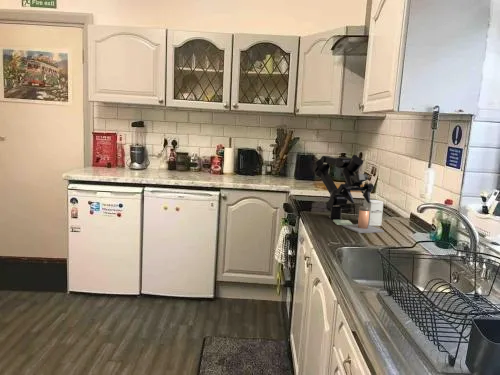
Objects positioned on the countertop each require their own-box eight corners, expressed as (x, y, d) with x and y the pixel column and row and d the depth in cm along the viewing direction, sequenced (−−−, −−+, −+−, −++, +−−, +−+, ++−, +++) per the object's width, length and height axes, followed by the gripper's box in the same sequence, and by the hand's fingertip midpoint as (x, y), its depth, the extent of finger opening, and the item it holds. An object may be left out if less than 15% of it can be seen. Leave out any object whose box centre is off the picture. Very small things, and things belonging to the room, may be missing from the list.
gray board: (342, 226, 218) (342, 224, 218) (366, 225, 223) (366, 224, 223) (358, 233, 205) (358, 231, 205) (383, 232, 210) (383, 230, 210)
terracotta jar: (355, 226, 215) (357, 206, 214) (362, 226, 217) (364, 206, 216) (362, 228, 211) (364, 208, 209) (370, 228, 213) (371, 207, 212)
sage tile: (333, 221, 229) (333, 219, 229) (348, 222, 230) (348, 220, 230) (336, 224, 222) (336, 222, 221) (352, 225, 222) (352, 223, 222)
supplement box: (368, 226, 222) (370, 201, 220) (361, 223, 229) (363, 199, 227) (381, 226, 224) (383, 201, 222) (373, 222, 231) (376, 199, 229)
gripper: (341, 167, 214) (352, 193, 206) (373, 168, 221) (385, 193, 212) (332, 181, 223) (342, 206, 214) (363, 181, 229) (374, 206, 221)
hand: (361, 202), depth 215 cm, fingers open, 9 cm apart
